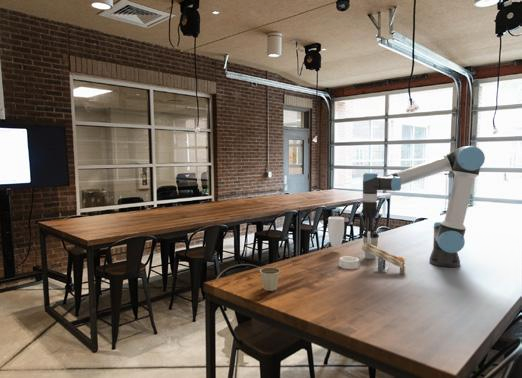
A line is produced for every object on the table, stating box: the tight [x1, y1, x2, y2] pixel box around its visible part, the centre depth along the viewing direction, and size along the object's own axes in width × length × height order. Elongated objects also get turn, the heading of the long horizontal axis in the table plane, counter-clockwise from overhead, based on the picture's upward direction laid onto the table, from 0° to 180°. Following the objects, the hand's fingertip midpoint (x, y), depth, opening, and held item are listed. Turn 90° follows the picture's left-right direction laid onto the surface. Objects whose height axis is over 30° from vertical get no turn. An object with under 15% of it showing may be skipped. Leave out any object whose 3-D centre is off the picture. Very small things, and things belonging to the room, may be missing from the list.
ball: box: [397, 256, 405, 262], centre depth 186 cm, size 4×4×4 cm
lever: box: [360, 242, 407, 268], centre depth 192 cm, size 22×13×3 cm, turn 62°
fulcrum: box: [373, 257, 406, 276], centre depth 188 cm, size 14×11×7 cm
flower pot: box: [259, 266, 281, 292], centre depth 166 cm, size 9×9×9 cm
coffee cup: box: [361, 231, 380, 260], centre depth 213 cm, size 9×9×15 cm
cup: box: [327, 216, 345, 249], centre depth 227 cm, size 10×10×22 cm
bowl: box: [338, 255, 360, 270], centre depth 198 cm, size 10×10×4 cm
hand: (369, 243), depth 200 cm, fingers closed
